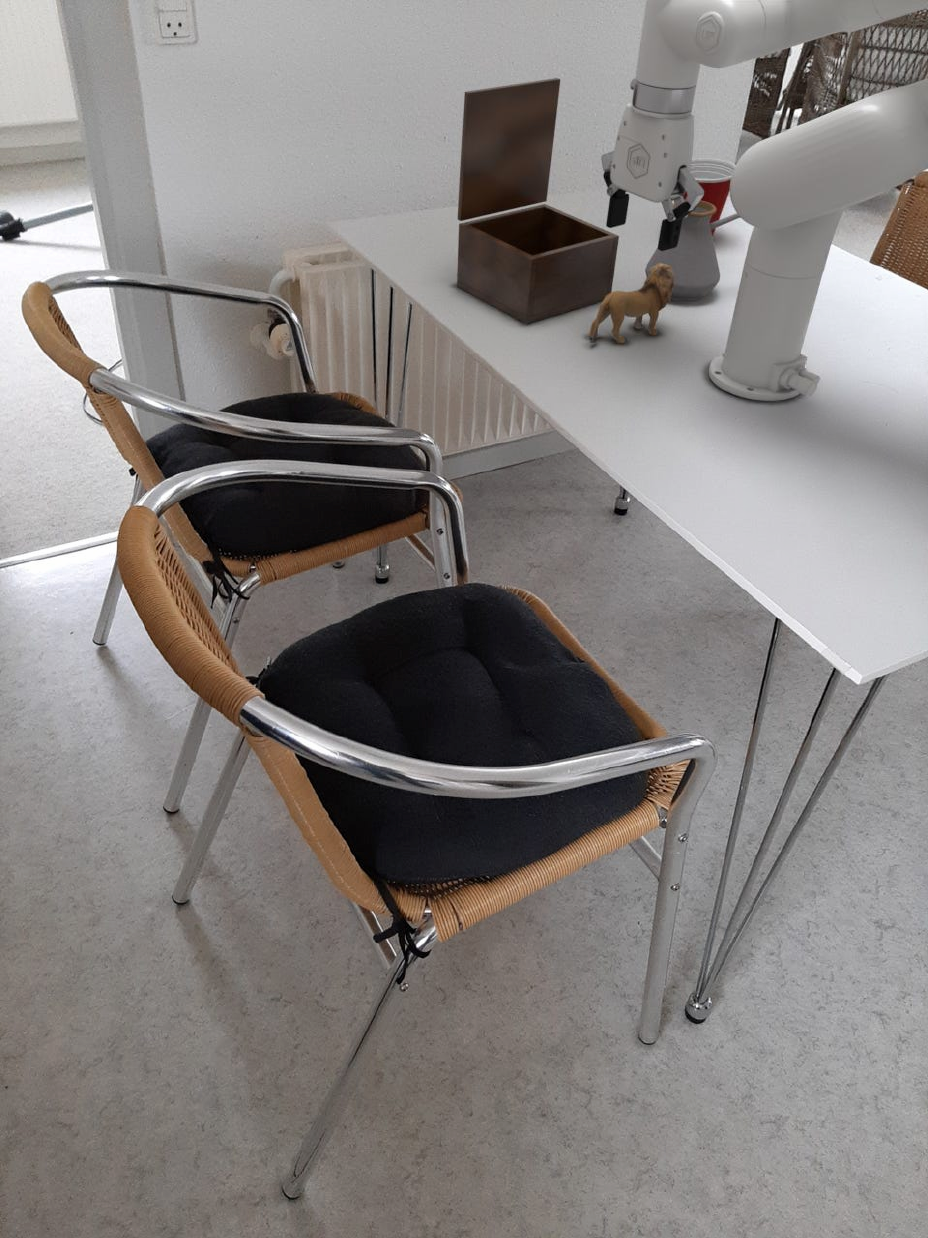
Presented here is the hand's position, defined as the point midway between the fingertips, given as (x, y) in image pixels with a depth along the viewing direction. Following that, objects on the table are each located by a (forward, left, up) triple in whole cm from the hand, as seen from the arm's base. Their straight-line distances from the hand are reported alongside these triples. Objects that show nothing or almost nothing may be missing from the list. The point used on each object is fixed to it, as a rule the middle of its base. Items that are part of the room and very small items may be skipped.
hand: (640, 236), depth 135 cm
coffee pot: (+4, -22, -14) cm, 26 cm away
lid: (+26, +2, +5) cm, 26 cm away
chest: (+18, +2, -14) cm, 23 cm away
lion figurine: (0, 0, -14) cm, 14 cm away
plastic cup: (+21, -37, -14) cm, 45 cm away
